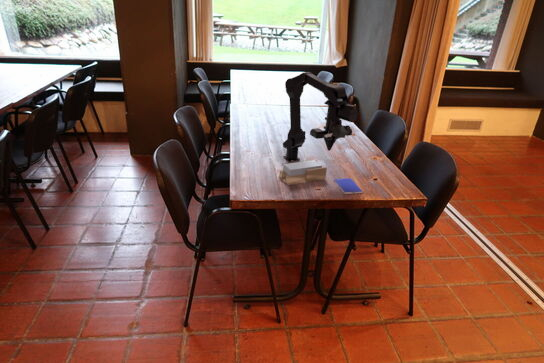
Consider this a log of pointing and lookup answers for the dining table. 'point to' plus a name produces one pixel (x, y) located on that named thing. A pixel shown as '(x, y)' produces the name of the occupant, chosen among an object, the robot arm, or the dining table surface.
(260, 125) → the dining table surface
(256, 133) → the dining table surface
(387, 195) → the dining table surface
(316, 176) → the birch box
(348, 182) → the hard drive
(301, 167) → the cover plate
